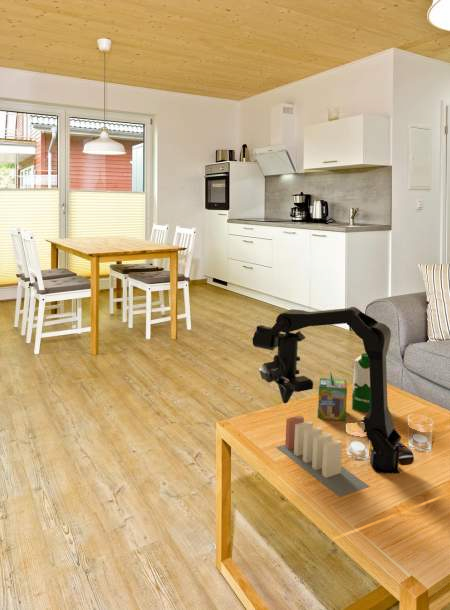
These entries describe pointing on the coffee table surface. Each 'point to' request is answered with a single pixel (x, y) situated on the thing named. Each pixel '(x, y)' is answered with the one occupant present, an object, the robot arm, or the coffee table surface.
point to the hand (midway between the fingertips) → (285, 402)
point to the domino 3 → (309, 443)
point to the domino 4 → (319, 449)
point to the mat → (336, 483)
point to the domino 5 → (332, 458)
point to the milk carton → (361, 384)
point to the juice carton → (332, 399)
